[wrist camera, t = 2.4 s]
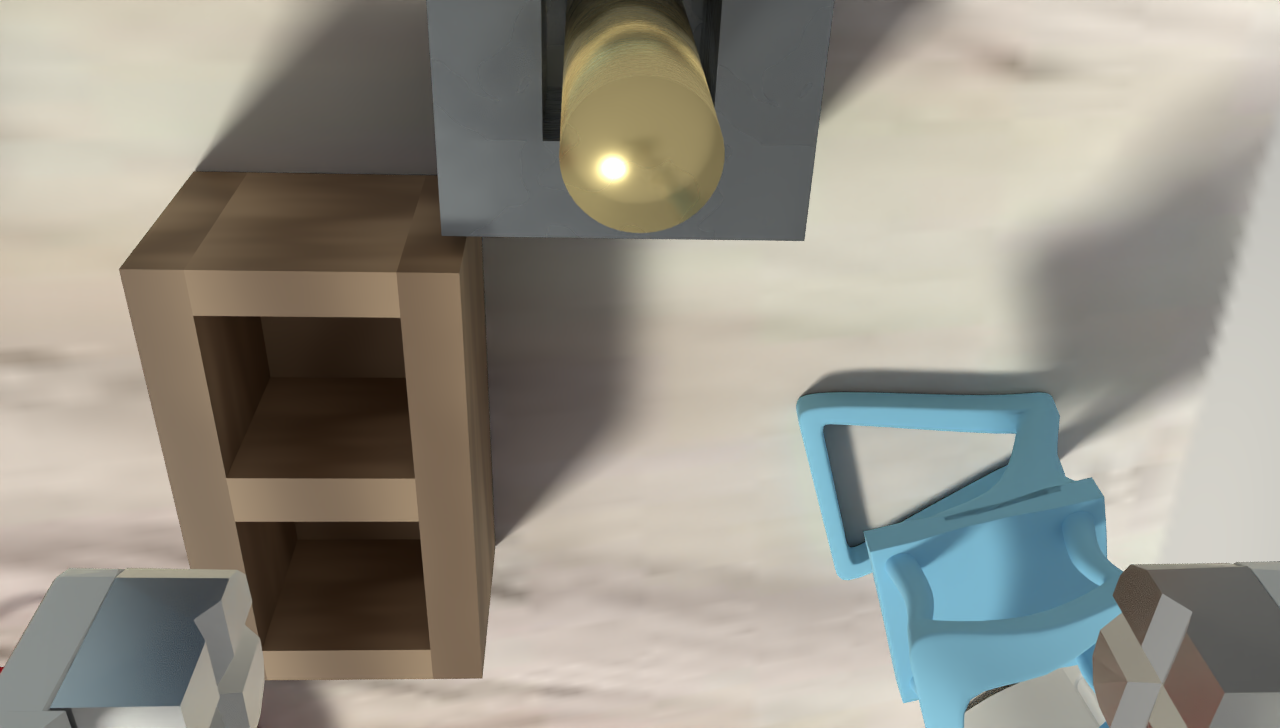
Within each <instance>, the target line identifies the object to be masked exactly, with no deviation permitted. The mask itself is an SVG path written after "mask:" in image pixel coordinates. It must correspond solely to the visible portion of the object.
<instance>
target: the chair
mask: <svg viewBox="0 0 1280 728" xmlns="http://www.w3.org/2000/svg"><path fill="white" fill-rule="evenodd" d="M796 409H797V415H798V421H799V425H800V429H801V433H802V437H803V441H804V445H805V449H806V453H807V457H808V461H809V465H810V469H811V473H812V477H813V481H814V485H815V489H816V493H817V497H818V501H819V505H820V509H821V513H822V517H823V521H824V525H825V529H826V533H827V537H828V541H829V545H830V549H831V553H832V557H833V561H834V565H835V570H836V573H837V574H838V576H839V577H840V578H841V579H843V580H851V579H855V578H859V577H862V576H864V575H867V574H870V573H872V572H873V576H874V581H875V585H876V589H877V594H878V598H879V602H880V607H881V612H882V616H883V621H884V625H885V630H886V635H887V639H888V644H889V649H890V654H891V658H892V663H893V668H894V672H895V677H896V681H897V684H898V688H899V691H900V694H901V697H902V701H903V703H907V702H911V701H916V700H919V702H920V707H921V711H922V715H923V719H924V723H925V727H926V728H964V714H965V711H966V709H967V707H968V704H969V702H970V700H971V699H973V698H974V697H976V696H977V695H979V694H981V693H982V692H984V691H987V690H991V689H994V688H998V687H1001V686H1005V685H1010V684H1014V683H1019V682H1023V681H1027V680H1030V679H1033V678H1037V677H1040V676H1044V675H1047V674H1049V673H1051V672H1053V671H1054V670H1056V669H1058V668H1063V667H1070V666H1075V665H1078V667H1079V669H1080V671H1081V674H1082V676H1083V677H1084V679H1085V680H1086V682H1087V683H1088V685H1089V686H1090V687H1091V689H1092V690H1093V691H1094V693H1095V689H1094V686H1093V661H1092V655H1093V652H1094V649H1095V645H1096V642H1097V639H1098V636H1099V632H1100V630H1101V629H1102V628H1103V627H1104V626H1106V625H1107V624H1108V623H1109V622H1111V621H1112V620H1113V619H1114V618H1116V617H1117V616H1118V615H1119V614H1121V613H1122V612H1121V610H1120V608H1119V606H1118V604H1117V603H1116V601H1115V599H1114V597H1113V593H1114V590H1115V587H1116V585H1117V582H1118V579H1119V577H1120V575H1121V574H1122V573H1123V571H1121V570H1120V569H1119V568H1117V567H1116V566H1114V565H1113V564H1112V563H1111V562H1110V561H1109V560H1108V559H1107V536H1106V518H1105V503H1104V496H1103V494H1102V493H1101V491H1100V490H1099V488H1098V487H1097V485H1096V483H1095V482H1094V480H1093V479H1092V477H1091V478H1087V479H1083V480H1079V481H1074V480H1071V479H1069V478H1067V477H1066V476H1065V473H1064V471H1063V468H1062V465H1061V463H1060V460H1059V458H1058V454H1057V444H1058V430H1059V419H1060V415H1059V413H1058V410H1057V408H1056V405H1055V402H1054V400H1053V398H1052V396H1051V395H1049V394H1048V393H1041V392H1038V393H1023V394H1005V395H947V394H912V393H877V392H829V393H815V394H809V395H805V396H803V397H800V398H799V400H798V401H797V405H796ZM828 424H839V425H860V426H878V427H893V428H909V429H924V430H940V431H957V432H976V433H1012V434H1016V437H1015V442H1014V446H1013V451H1012V454H1011V457H1010V460H1009V463H1008V465H1006V466H1004V467H1002V468H1000V469H998V470H996V471H994V472H992V473H990V474H988V475H986V476H985V477H983V478H981V479H979V480H977V481H975V482H973V483H971V484H969V485H968V486H966V487H964V488H962V489H960V490H958V491H957V492H955V493H953V494H951V495H949V496H947V497H946V498H944V499H942V500H940V501H938V502H937V503H935V504H933V505H931V506H929V507H928V508H926V509H924V510H922V511H920V512H919V513H917V514H915V515H913V516H911V517H910V518H908V519H906V520H904V521H903V522H901V523H897V524H893V525H889V526H884V527H880V528H876V529H872V530H867V531H863V532H864V536H865V541H866V542H864V543H862V544H860V545H858V546H856V547H849V545H848V544H847V542H846V537H845V532H844V527H843V523H842V518H841V513H840V509H839V504H838V499H837V495H836V490H835V485H834V481H833V476H832V471H831V466H830V462H829V457H828V452H827V448H826V443H825V438H824V434H823V429H824V426H825V425H828ZM1095 694H1096V693H1095ZM1099 728H1109V726H1108V724H1107V722H1104V723H1103V724H1102V725H1101V726H1100V727H1099Z"/></svg>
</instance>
